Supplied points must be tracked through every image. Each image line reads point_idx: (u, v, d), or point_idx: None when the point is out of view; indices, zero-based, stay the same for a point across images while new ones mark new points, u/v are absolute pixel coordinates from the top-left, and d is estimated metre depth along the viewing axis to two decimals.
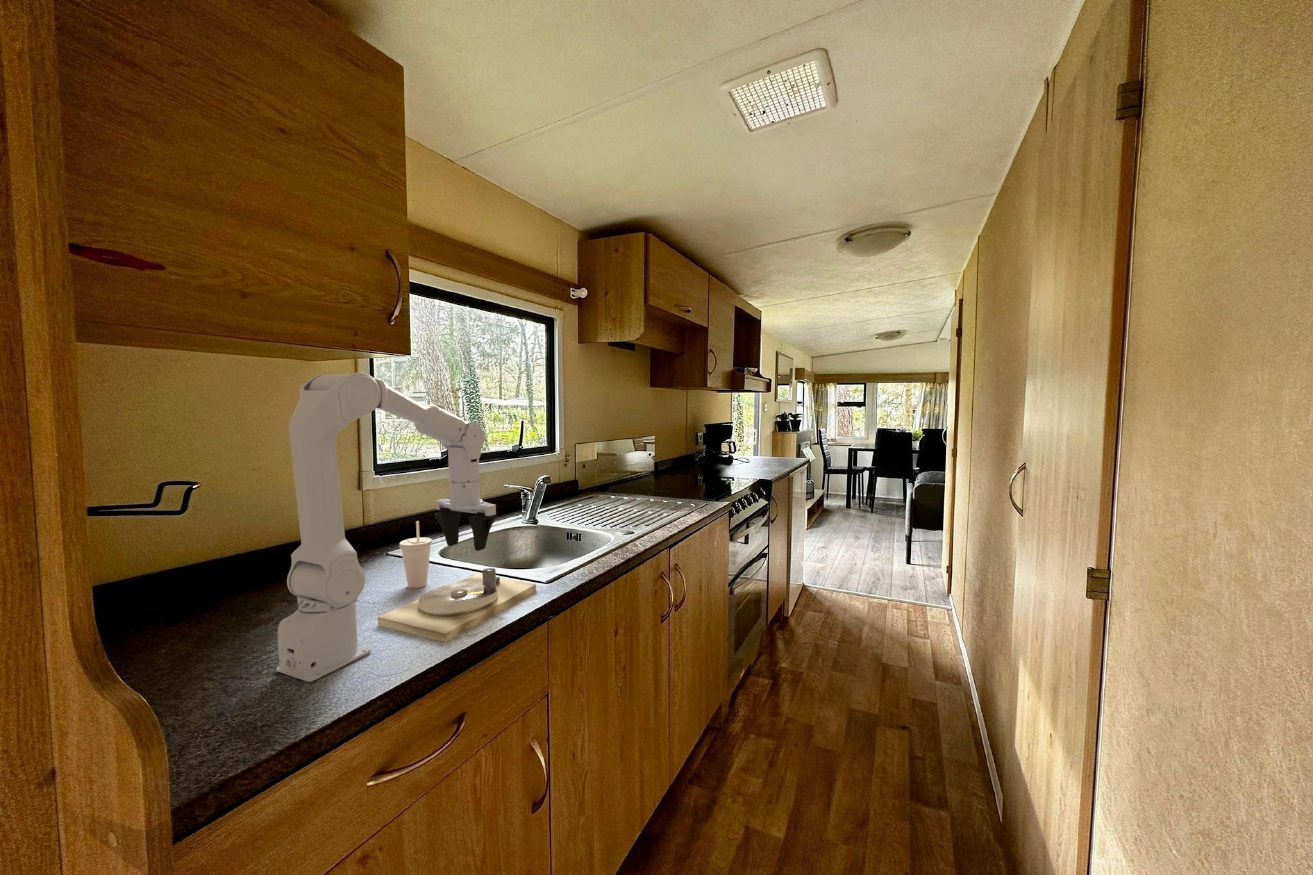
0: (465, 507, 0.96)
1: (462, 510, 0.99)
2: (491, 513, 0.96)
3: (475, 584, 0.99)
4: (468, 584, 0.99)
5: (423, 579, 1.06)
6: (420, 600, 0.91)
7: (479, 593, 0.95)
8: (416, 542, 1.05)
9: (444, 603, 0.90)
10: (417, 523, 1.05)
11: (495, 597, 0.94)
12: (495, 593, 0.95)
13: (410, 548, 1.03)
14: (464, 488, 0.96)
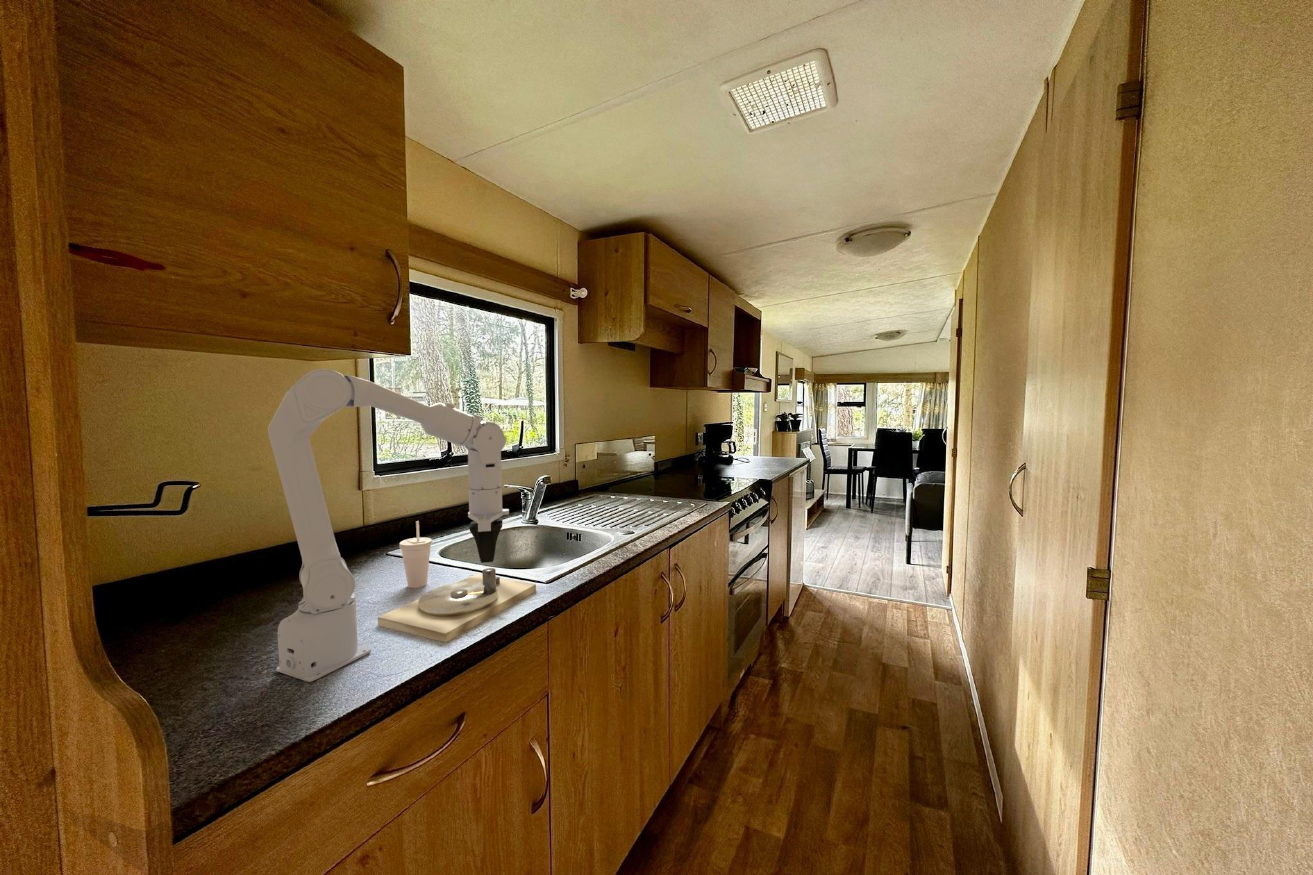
0: (471, 517, 0.86)
1: None
2: (482, 528, 0.83)
3: (475, 584, 0.99)
4: (468, 584, 0.99)
5: (423, 579, 1.06)
6: (420, 600, 0.91)
7: (479, 593, 0.95)
8: (416, 542, 1.05)
9: (444, 603, 0.90)
10: (417, 523, 1.05)
11: (495, 597, 0.94)
12: (495, 593, 0.95)
13: (410, 548, 1.03)
14: (473, 496, 0.87)
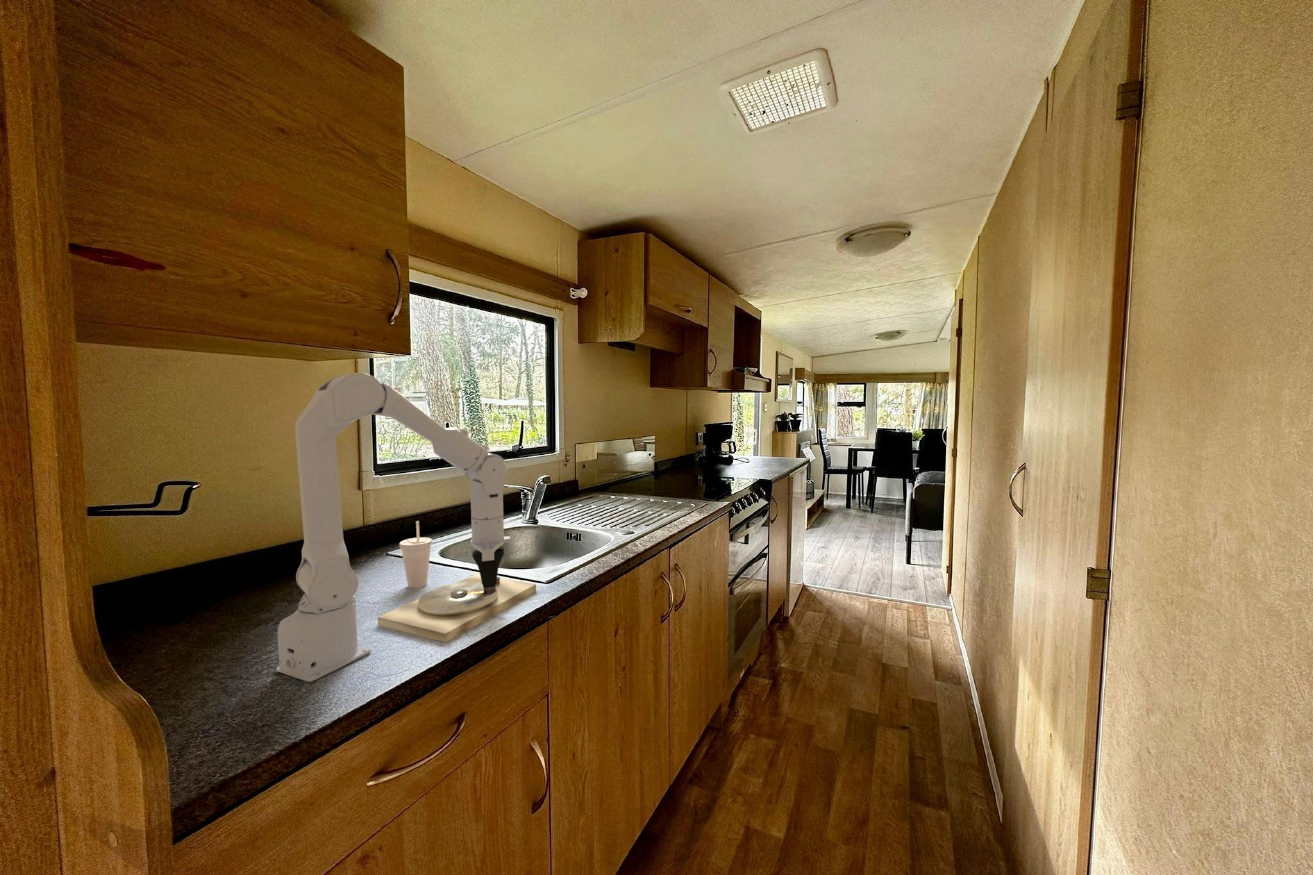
0: (474, 546, 0.90)
1: None
2: (485, 558, 0.86)
3: (474, 584, 0.99)
4: (468, 584, 0.99)
5: (423, 579, 1.06)
6: (420, 601, 0.91)
7: (479, 593, 0.95)
8: (416, 542, 1.05)
9: (445, 603, 0.90)
10: (417, 523, 1.05)
11: (495, 596, 0.94)
12: (495, 593, 0.95)
13: (410, 548, 1.03)
14: (476, 525, 0.90)
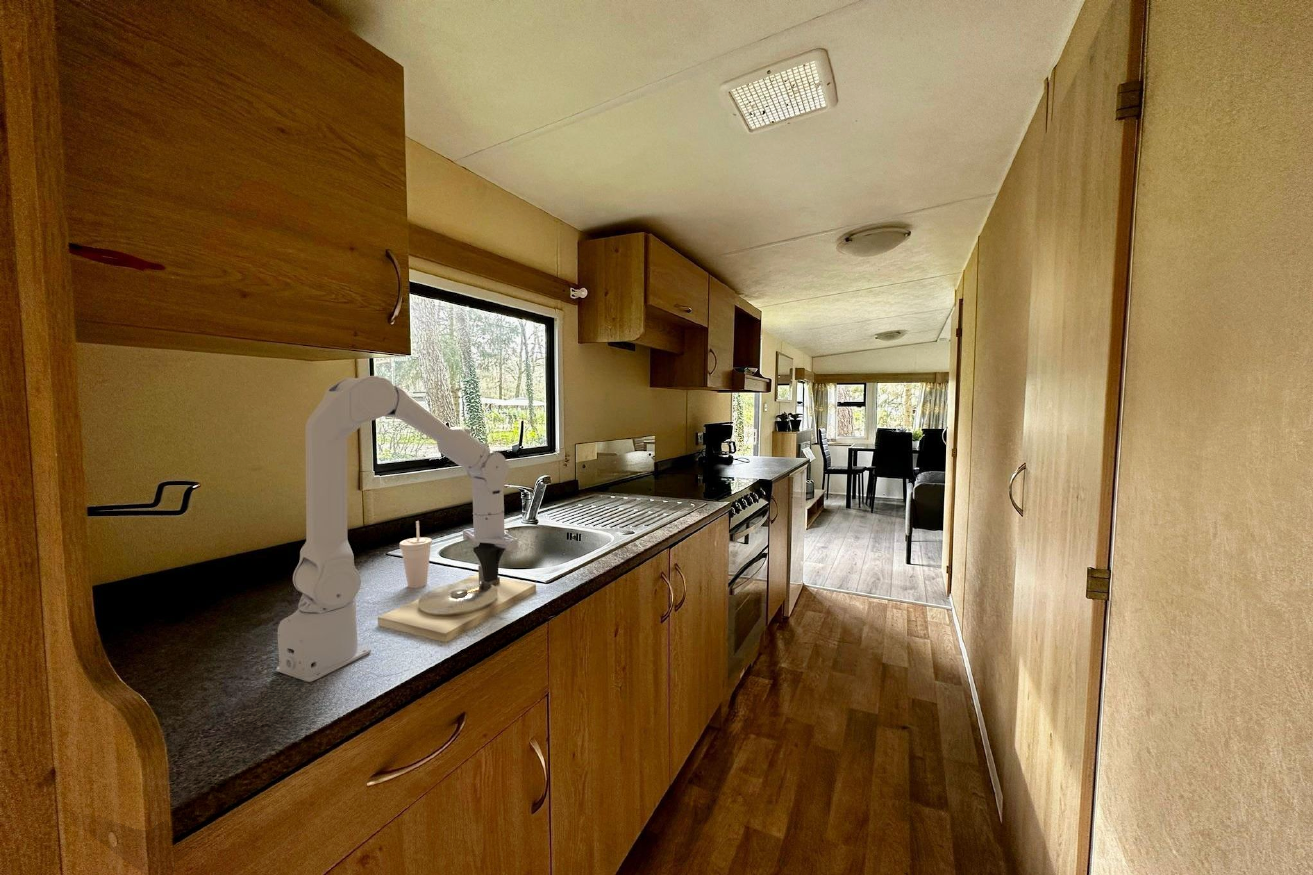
0: (487, 540, 0.93)
1: (486, 542, 0.96)
2: (512, 547, 0.92)
3: (459, 585, 0.99)
4: (451, 586, 0.98)
5: (423, 579, 1.06)
6: (426, 607, 0.88)
7: (477, 589, 0.96)
8: (416, 542, 1.05)
9: (458, 603, 0.90)
10: (417, 523, 1.05)
11: None
12: (493, 586, 0.98)
13: (410, 548, 1.03)
14: (486, 521, 0.93)
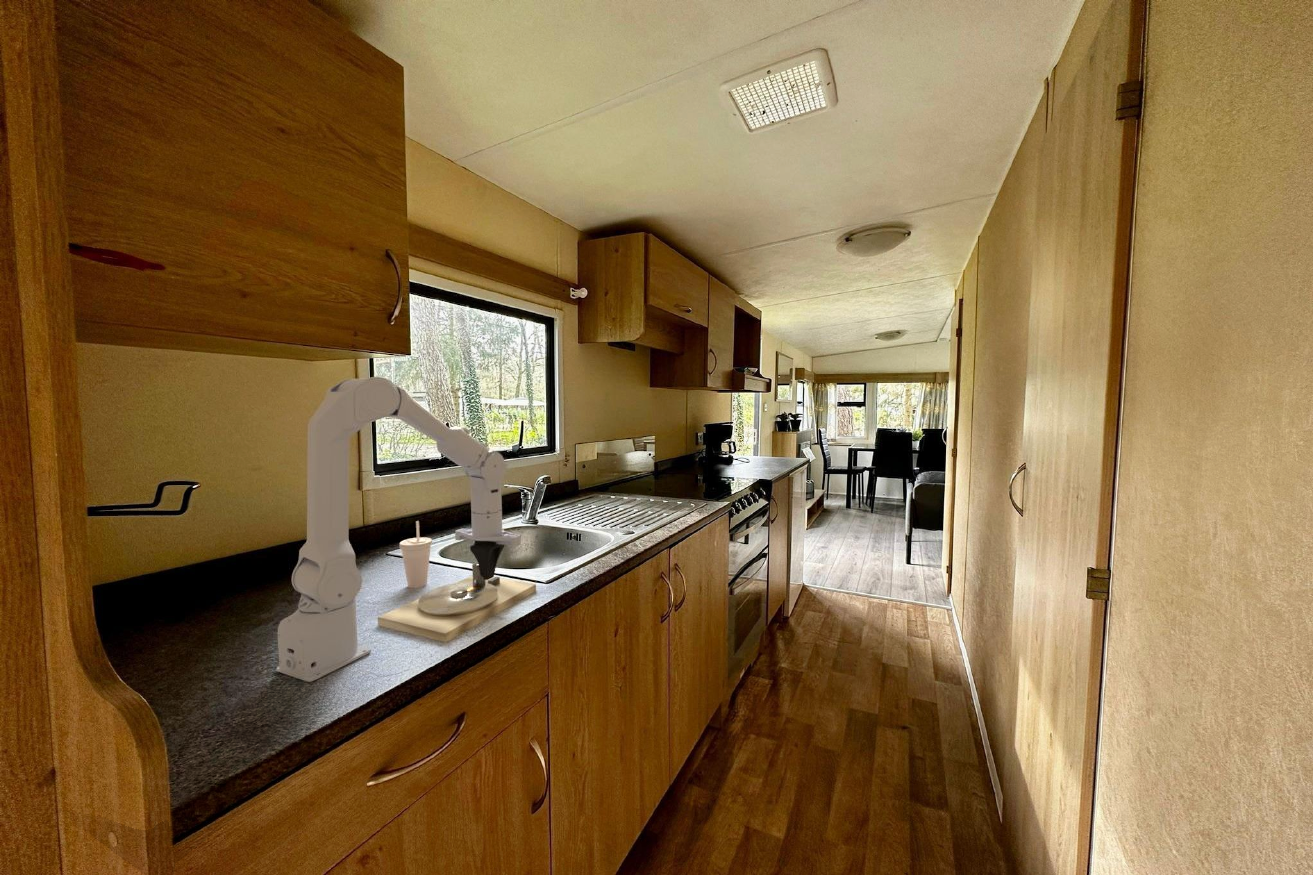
0: (489, 538, 0.94)
1: (484, 541, 0.97)
2: (516, 544, 0.95)
3: (450, 587, 0.98)
4: (442, 588, 0.97)
5: (423, 579, 1.06)
6: (435, 609, 0.87)
7: (474, 588, 0.97)
8: (416, 542, 1.05)
9: (465, 601, 0.91)
10: (417, 523, 1.05)
11: None
12: (487, 584, 1.00)
13: (410, 548, 1.03)
14: (488, 519, 0.95)
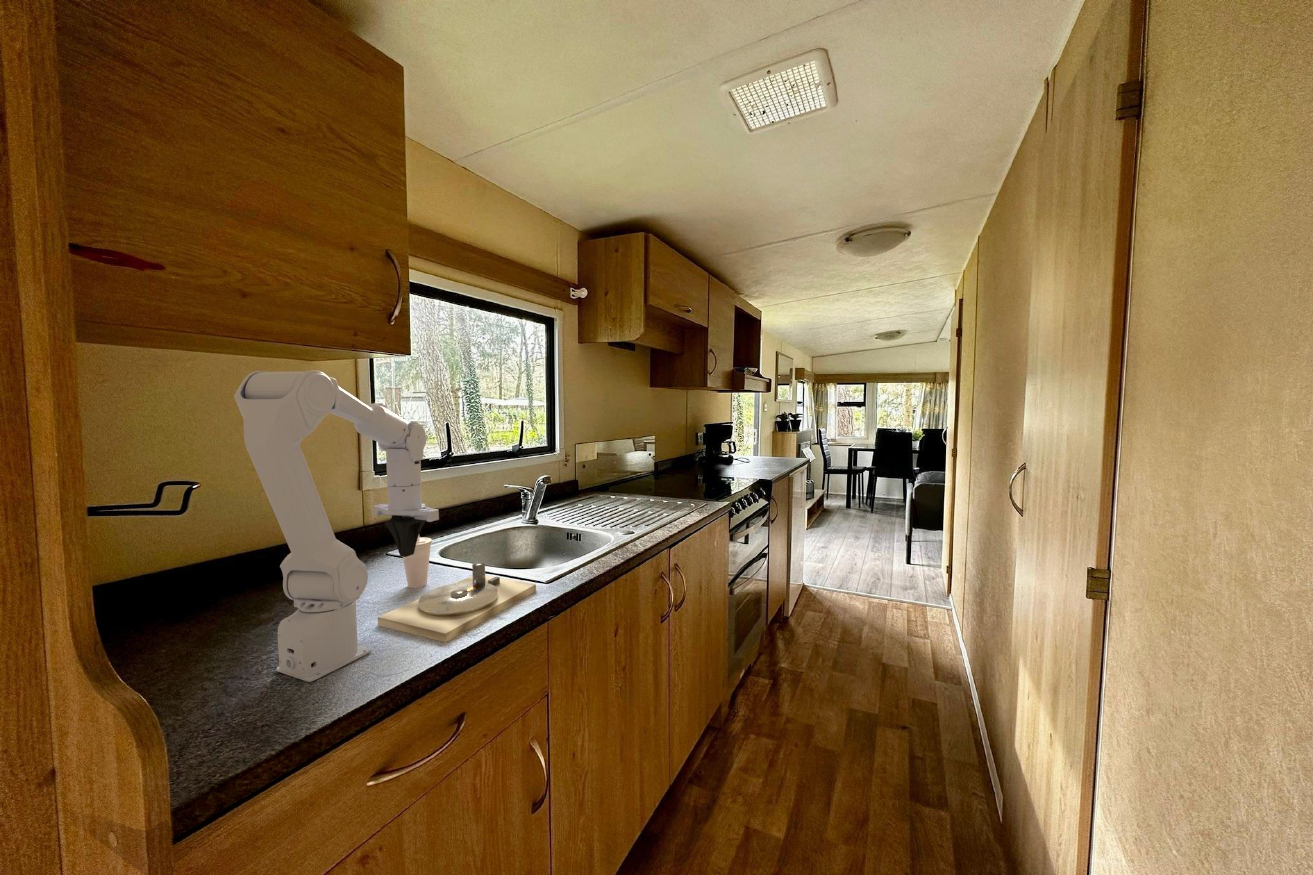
0: (405, 513, 0.90)
1: (402, 516, 0.93)
2: (433, 518, 0.90)
3: (449, 587, 0.98)
4: (442, 588, 0.97)
5: (423, 579, 1.06)
6: (435, 609, 0.87)
7: (474, 588, 0.97)
8: None
9: (465, 601, 0.91)
10: None
11: None
12: (487, 584, 1.00)
13: None
14: (404, 492, 0.90)
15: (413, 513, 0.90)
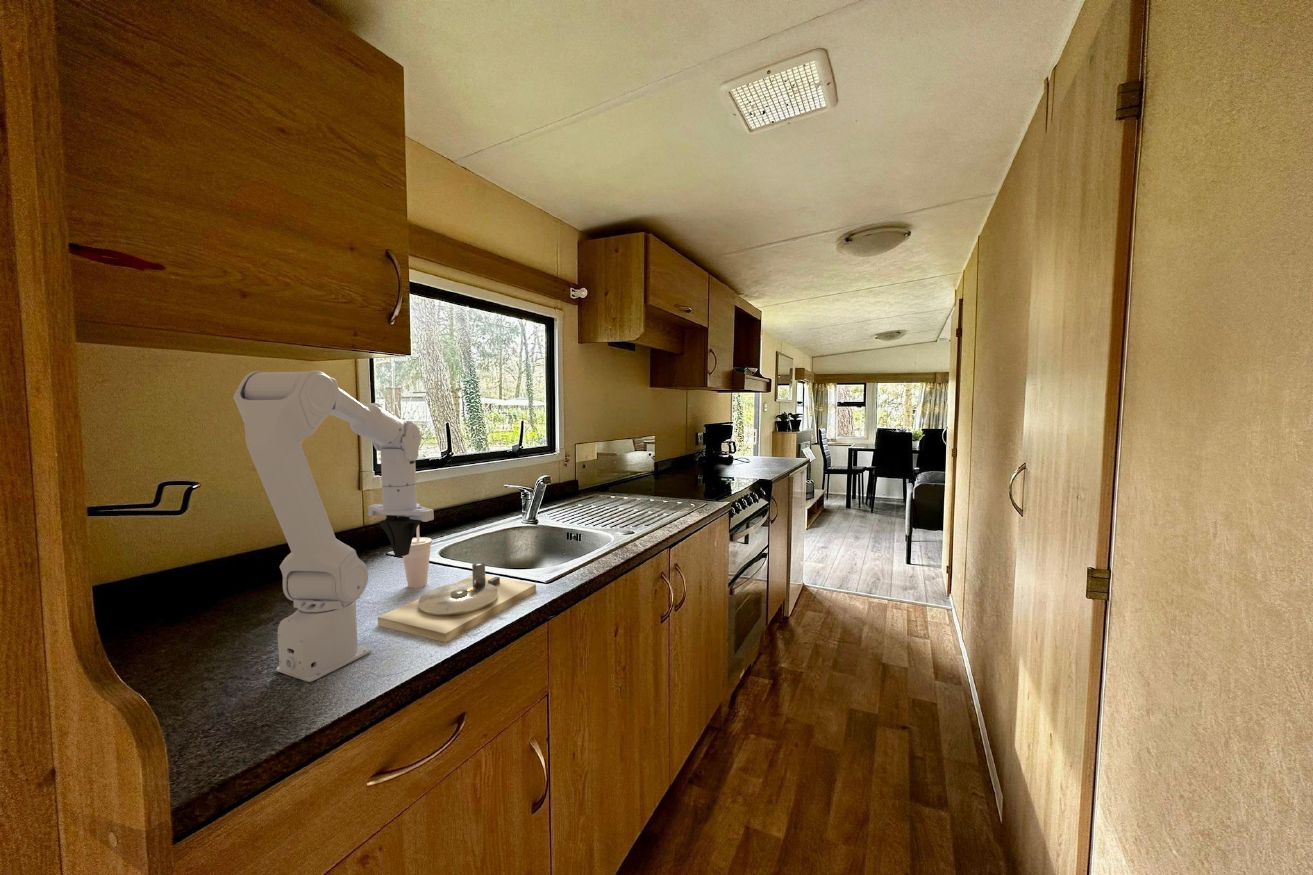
0: (399, 513, 0.90)
1: (397, 516, 0.93)
2: (428, 518, 0.90)
3: (449, 587, 0.98)
4: (442, 588, 0.97)
5: (423, 579, 1.06)
6: (435, 609, 0.87)
7: (474, 588, 0.97)
8: (416, 542, 1.05)
9: (465, 601, 0.91)
10: None
11: None
12: (487, 584, 1.00)
13: (410, 548, 1.03)
14: (398, 492, 0.90)
15: (408, 513, 0.90)
